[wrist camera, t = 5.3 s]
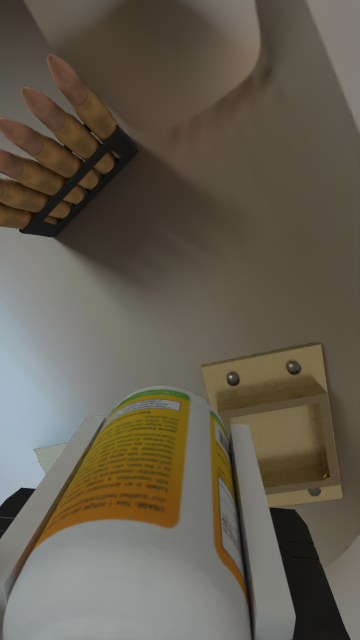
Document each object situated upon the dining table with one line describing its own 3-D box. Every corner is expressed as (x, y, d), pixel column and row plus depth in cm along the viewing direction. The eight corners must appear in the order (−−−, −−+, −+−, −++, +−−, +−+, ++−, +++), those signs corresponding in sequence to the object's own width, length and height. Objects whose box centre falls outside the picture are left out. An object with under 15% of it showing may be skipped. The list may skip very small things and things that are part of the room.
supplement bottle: (86, 445, 13) (-204, 925, 4) (148, 357, 12) (-58, 758, 3) (182, 506, 14) (131, 1077, 4) (253, 427, 12) (409, 1005, 3)
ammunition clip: (53, 238, 26) (-66, 229, 14) (39, 222, 26) (-95, 200, 14) (139, 150, 24) (78, 56, 12) (124, 132, 24) (47, 18, 12)
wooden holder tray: (201, 365, 28) (200, 376, 25) (318, 342, 26) (330, 352, 24) (235, 507, 31) (238, 529, 29) (340, 493, 30) (352, 515, 28)
